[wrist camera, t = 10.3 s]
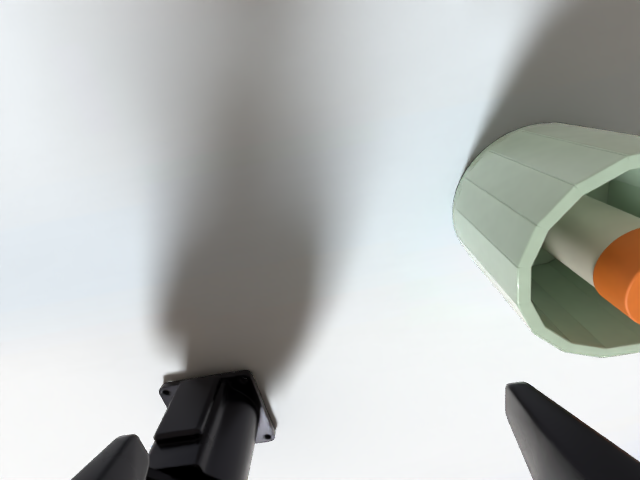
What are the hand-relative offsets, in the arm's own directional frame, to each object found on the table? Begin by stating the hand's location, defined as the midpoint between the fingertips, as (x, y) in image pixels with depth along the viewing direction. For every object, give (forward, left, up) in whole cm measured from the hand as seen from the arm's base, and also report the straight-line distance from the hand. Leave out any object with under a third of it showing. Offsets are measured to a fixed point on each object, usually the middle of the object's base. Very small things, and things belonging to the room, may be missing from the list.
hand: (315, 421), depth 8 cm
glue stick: (-1, -11, -11) cm, 16 cm away
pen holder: (-1, -11, -12) cm, 16 cm away
